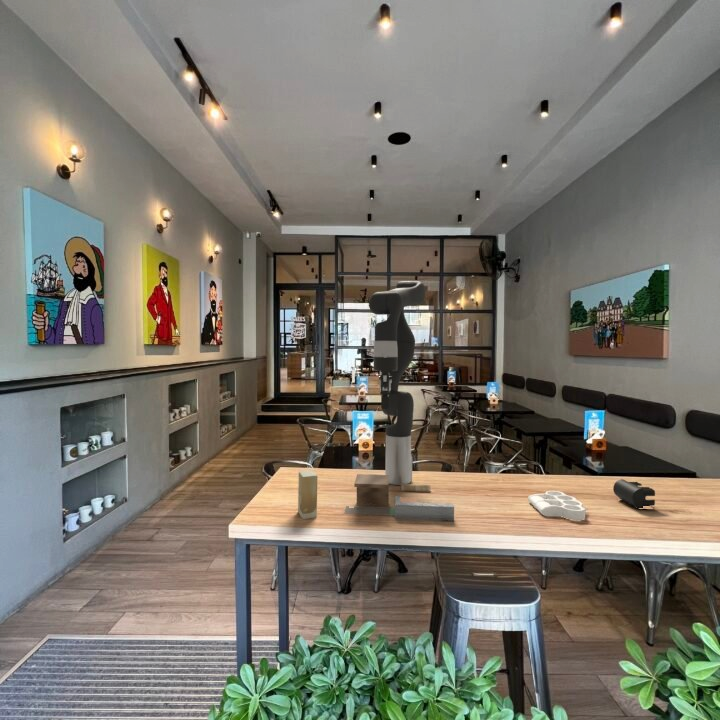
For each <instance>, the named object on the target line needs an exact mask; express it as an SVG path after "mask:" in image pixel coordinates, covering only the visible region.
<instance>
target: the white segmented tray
mask: <svg viewBox="0 0 720 720" xmlns="http://www.w3.org/2000/svg"><path fill="white" fill-rule="evenodd" d="M527 500H528V501H527V502H529V503H530V504H531V505H533V507H534V508H535V509H537V510H538V512H539V513H540V514H541V515H543V516H544V517H558V516H563V517H565V518H568V519H573V520H583V519H585V520H586V511H589V509H588V508H586V507H584V504H583V503H582V502H581V501H579V500H578V499H577V498H576V497H574V496H571V495H568V494H565V492H562V491H558V490H547V491H545V493H535V494H531V495H529V496H528V497H527Z"/></svg>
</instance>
